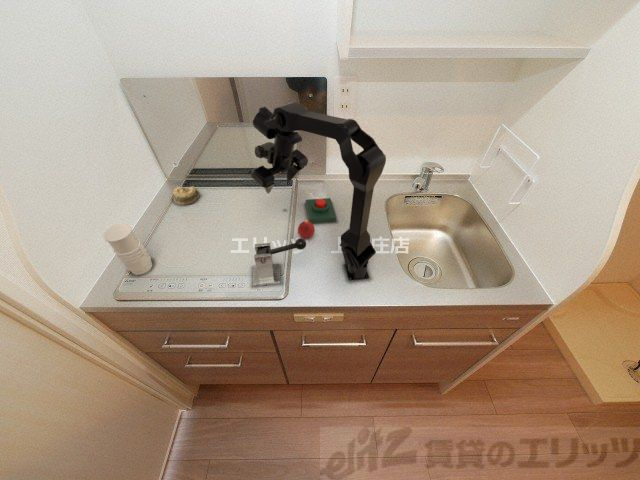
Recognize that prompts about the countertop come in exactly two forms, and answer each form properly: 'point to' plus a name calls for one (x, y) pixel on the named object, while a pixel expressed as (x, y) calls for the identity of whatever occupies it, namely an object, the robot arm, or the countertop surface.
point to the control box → (320, 211)
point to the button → (320, 203)
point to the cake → (185, 195)
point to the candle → (128, 248)
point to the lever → (284, 247)
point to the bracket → (265, 267)
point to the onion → (306, 229)
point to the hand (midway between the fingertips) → (278, 186)
